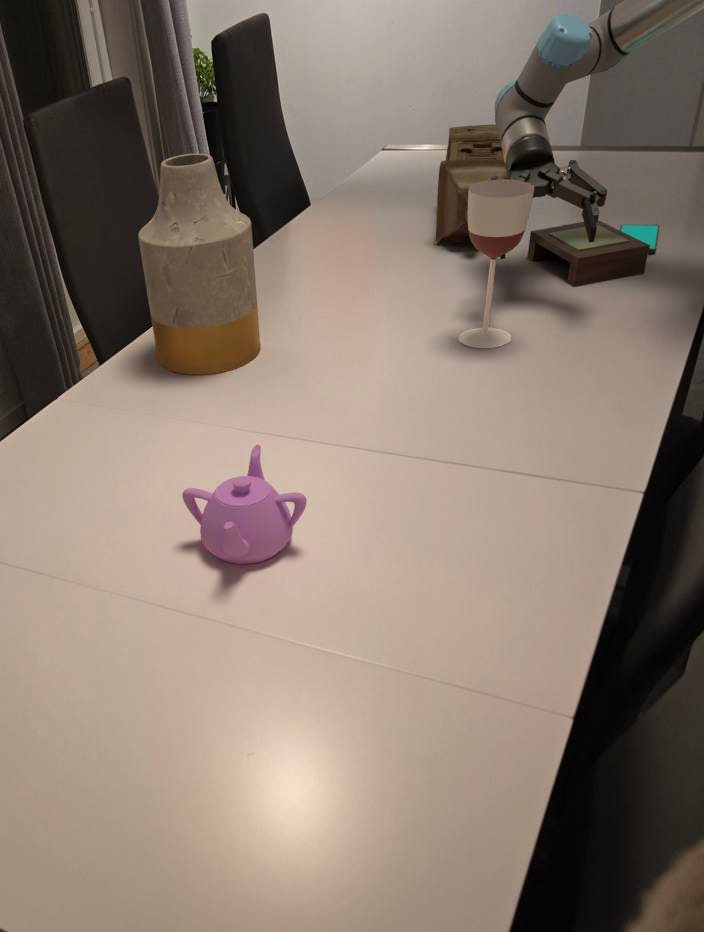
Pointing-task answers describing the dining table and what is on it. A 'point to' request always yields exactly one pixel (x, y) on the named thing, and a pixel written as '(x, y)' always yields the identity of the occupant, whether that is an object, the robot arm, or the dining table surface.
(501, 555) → the dining table surface
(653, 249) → the smartphone
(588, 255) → the shelf
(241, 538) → the teapot
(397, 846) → the dining table surface
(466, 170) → the ornamental box
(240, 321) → the vase
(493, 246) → the wineglass
